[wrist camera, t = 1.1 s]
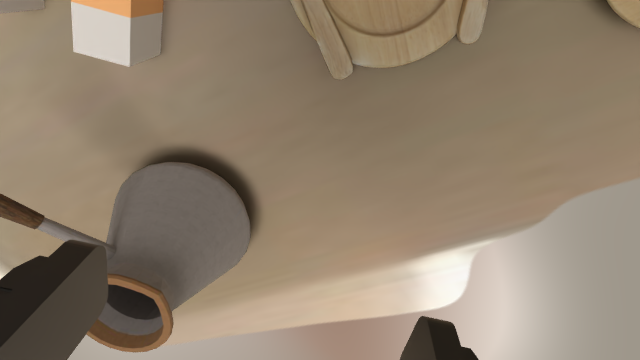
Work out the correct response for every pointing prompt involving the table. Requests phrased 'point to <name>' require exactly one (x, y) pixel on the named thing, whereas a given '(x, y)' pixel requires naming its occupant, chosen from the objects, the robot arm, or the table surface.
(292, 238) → the table surface
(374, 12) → the tableware set
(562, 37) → the table surface
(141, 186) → the coffee pot
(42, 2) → the two-tone square pillar
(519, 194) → the table surface
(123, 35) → the orange white rectangular block
